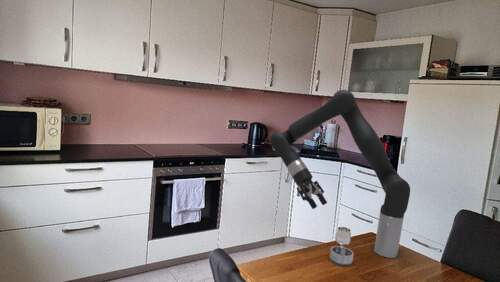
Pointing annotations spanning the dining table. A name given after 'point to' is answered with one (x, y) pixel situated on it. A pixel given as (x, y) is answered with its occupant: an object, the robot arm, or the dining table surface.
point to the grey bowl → (341, 256)
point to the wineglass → (343, 237)
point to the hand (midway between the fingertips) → (320, 205)
